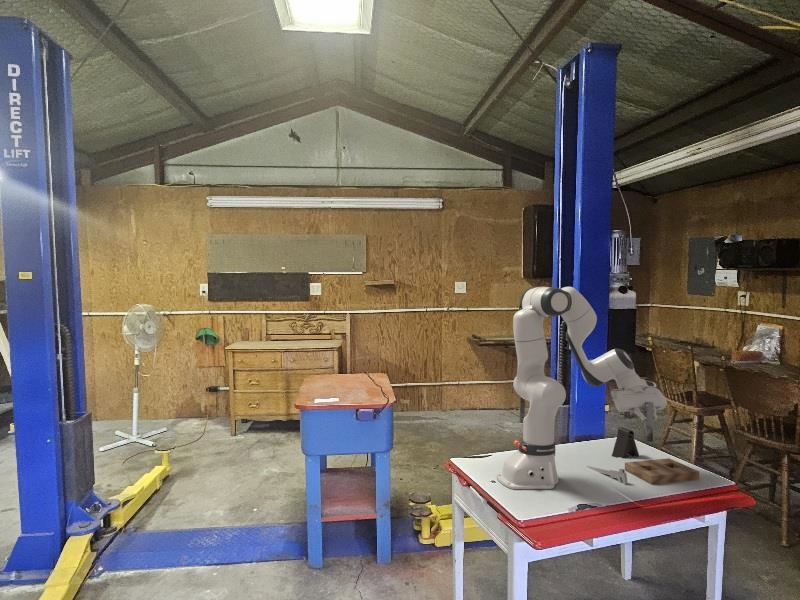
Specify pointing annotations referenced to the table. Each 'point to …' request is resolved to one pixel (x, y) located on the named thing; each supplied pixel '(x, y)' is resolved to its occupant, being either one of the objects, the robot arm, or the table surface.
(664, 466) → the hole block
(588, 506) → the table surface
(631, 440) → the black a-frame stand
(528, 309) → the robot arm
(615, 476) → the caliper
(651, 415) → the peg
